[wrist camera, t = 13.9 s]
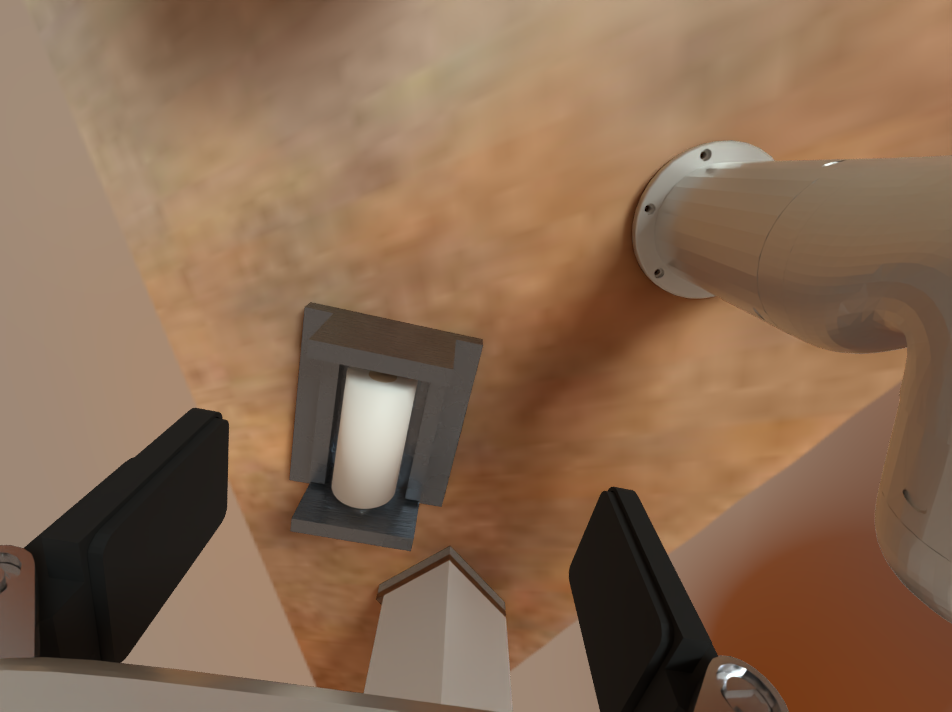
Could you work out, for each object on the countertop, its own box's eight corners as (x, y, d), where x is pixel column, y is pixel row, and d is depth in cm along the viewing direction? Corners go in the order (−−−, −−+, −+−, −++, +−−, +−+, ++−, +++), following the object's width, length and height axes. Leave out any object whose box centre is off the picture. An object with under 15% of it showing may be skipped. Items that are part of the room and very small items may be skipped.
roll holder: (482, 339, 42) (484, 376, 34) (442, 497, 49) (437, 555, 42) (310, 302, 40) (274, 332, 33) (294, 470, 47) (262, 526, 40)
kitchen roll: (425, 371, 41) (405, 400, 35) (403, 477, 45) (382, 517, 40) (364, 353, 41) (334, 379, 36) (348, 459, 46) (319, 497, 40)
